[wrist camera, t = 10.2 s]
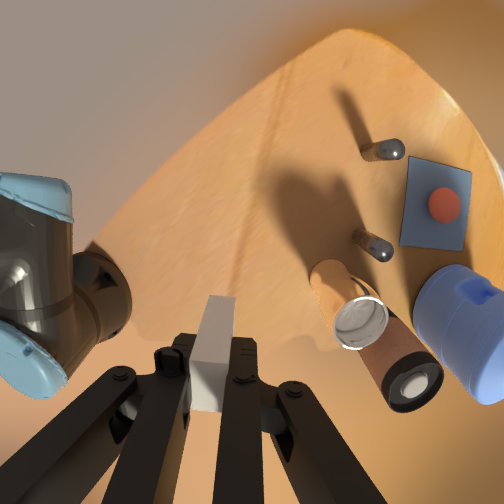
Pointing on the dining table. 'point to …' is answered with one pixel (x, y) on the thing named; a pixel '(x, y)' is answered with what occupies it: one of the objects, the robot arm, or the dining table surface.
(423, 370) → the travel mug
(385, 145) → the post
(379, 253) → the post
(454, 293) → the water jug
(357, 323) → the beer glass
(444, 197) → the ball
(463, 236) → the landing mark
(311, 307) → the dining table surface
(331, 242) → the dining table surface
